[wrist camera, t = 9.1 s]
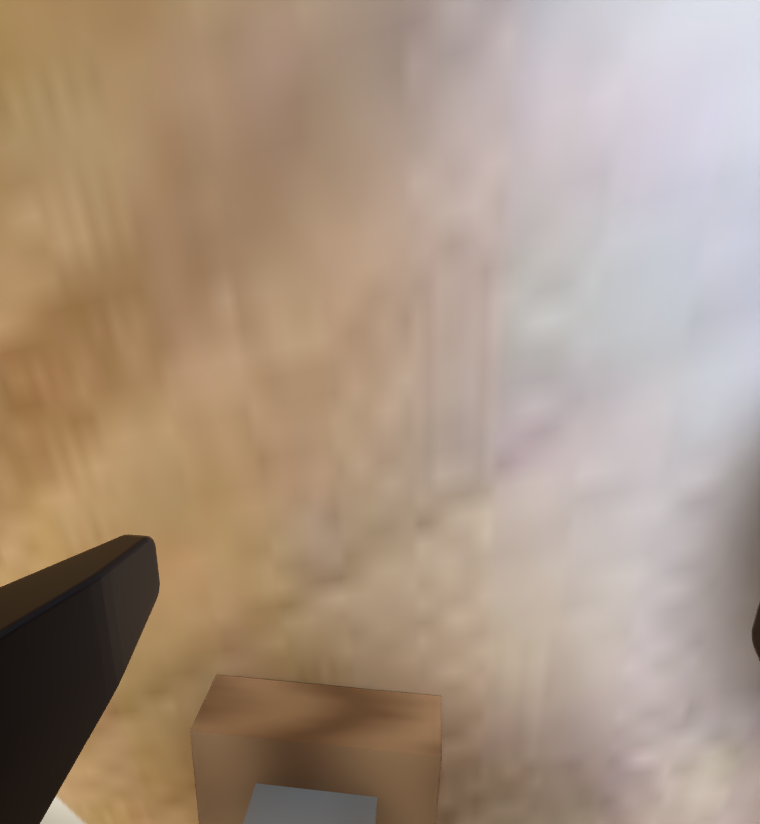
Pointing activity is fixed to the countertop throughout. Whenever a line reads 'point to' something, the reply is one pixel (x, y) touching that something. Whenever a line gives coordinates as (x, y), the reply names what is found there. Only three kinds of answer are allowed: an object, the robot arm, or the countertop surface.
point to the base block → (316, 746)
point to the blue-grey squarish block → (308, 807)
